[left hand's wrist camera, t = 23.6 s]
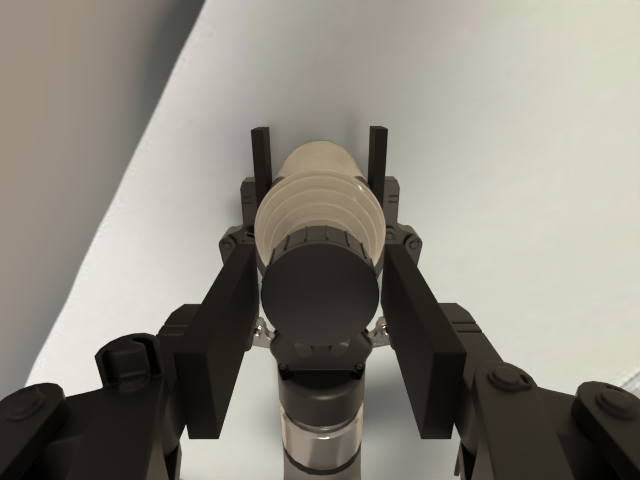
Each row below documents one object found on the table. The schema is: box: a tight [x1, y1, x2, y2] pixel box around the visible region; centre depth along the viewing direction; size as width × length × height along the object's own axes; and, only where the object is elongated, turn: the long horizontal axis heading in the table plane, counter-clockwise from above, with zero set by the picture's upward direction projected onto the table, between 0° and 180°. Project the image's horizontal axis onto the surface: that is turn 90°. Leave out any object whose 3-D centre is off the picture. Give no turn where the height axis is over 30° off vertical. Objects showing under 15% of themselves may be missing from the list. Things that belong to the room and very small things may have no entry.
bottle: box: [254, 141, 386, 267], centre depth 22 cm, size 7×7×19 cm
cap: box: [261, 225, 379, 346], centre depth 14 cm, size 4×4×2 cm
